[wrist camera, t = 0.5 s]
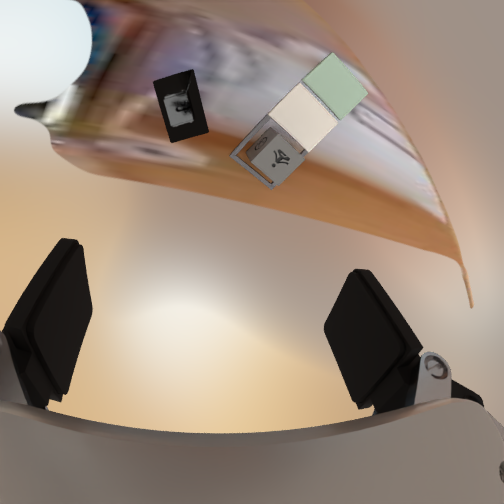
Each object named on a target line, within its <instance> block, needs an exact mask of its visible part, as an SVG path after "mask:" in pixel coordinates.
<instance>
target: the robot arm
mask: <svg viewBox="0 0 504 504" xmlns="http://www.w3.org/2000/svg"><path fill="white" fill-rule="evenodd" d="M91 316H92V302H91V296H90V291H89V285H88V279H87V273H86V265H85V258H84V249H83V246H82V245H80V244H79V242H78V241H77V240H75V239H67V238H61V239H60V240H59V242H58V243H57V244H56V246H55V247H54V248H53V250H52V251H51V252H50V254H49V255H48V257H47V258H46V259H45V261H44V262H43V264H42V265H41V266H40V268H39V269H38V271H37V272H36V274H35V275H34V277H33V278H32V280H31V281H30V283H29V284H28V286H27V288H26V289H25V291H24V292H23V294H22V295H21V297H20V299H19V300H18V302H17V304H16V305H15V307H14V309H13V311H12V312H11V314H10V316H9V318H8V320H7V321H6V323H5V326H4V329H3V330H2V332H1V331H0V504H504V427H503V426H502V425H501V424H500V423H499V422H498V421H497V420H496V419H495V418H494V417H493V416H492V415H491V414H490V413H489V412H487V411H486V410H485V408H484V405H483V400H482V398H481V397H480V396H479V395H478V394H476V393H475V392H473V391H471V390H469V389H467V388H466V387H464V386H462V385H460V384H459V383H457V382H455V381H453V380H452V379H451V369H450V367H449V365H448V363H447V362H446V360H444V359H443V358H442V357H441V356H439V355H438V354H436V353H433V352H426V353H424V354H423V355H422V356H421V357H420V356H419V352H420V351H421V350H422V349H423V346H422V345H421V343H420V342H419V340H418V338H417V337H416V335H415V334H414V333H413V331H412V329H411V328H410V326H409V325H408V323H407V322H406V320H405V319H404V317H403V316H402V314H401V313H400V311H399V310H398V308H397V307H396V306H395V304H394V303H393V301H392V300H391V299H390V297H389V296H388V294H387V293H386V292H385V290H384V289H383V287H382V286H381V284H380V283H379V282H378V280H377V279H376V278H375V276H374V275H373V274H372V272H371V271H370V270H365V269H354V270H353V272H351V273H349V275H348V277H347V279H346V281H345V283H344V285H343V287H342V289H341V292H340V294H339V296H338V298H337V300H336V302H335V304H334V306H333V308H332V310H331V312H330V314H329V316H328V318H327V320H326V322H325V324H324V333H325V335H326V337H327V340H328V342H329V345H330V347H331V349H332V352H333V354H334V357H335V359H336V361H337V364H338V366H339V369H340V371H341V374H342V376H343V379H344V381H345V384H346V386H347V389H348V391H349V394H350V396H351V399H352V401H353V402H355V403H356V404H357V407H358V409H364V408H369V407H371V406H372V405H373V406H374V408H375V409H374V412H373V415H372V416H369V417H364V418H360V419H355V420H350V421H345V422H340V423H334V424H329V425H322V426H315V427H308V428H301V429H293V430H282V431H271V432H256V433H229V434H228V433H227V434H226V433H224V434H220V433H219V434H218V433H217V434H215V433H184V432H183V433H182V432H169V431H157V430H148V429H139V428H132V427H125V426H118V425H113V424H107V423H101V422H96V421H91V420H85V419H81V418H77V417H72V416H68V415H63V414H60V413H56V412H52V411H49V410H48V408H47V405H48V403H49V399H51V400H55V401H58V402H61V401H62V396H63V394H65V395H66V394H67V393H68V390H69V386H70V383H71V379H72V375H73V372H74V368H75V365H76V361H77V358H78V355H79V352H80V348H81V345H82V342H83V339H84V336H85V333H86V330H87V327H88V324H89V322H90V319H91Z"/></svg>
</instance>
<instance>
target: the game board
mask: <svg viewBox="0 0 504 504" xmlns="http://www.w3.org/2000/svg"><path fill="white" fill-rule="evenodd" d="M302 81H303V82H304V83H305V84H306V85H307V86H308V87H309V88H310V89H311V90H312V91H313V92H314V93H315V94H316V95H317V96H318V97H319V98H320V99H321V100H322V101H323V102H324V103H325V104H326V106H327V107H328V108H329V109H330V110H331V111H332V112H333V113H334V114H335V115H336V116H337V118H338V119H339V120H342V119H343V118H344V117H345V116H346V115H347V114H348V113H349V112H350V111H351V110H352V109H353V108H354V107H355V106H356V105H357V104H358V103H359V102H360V101H361V100H362V99H363V98H364V97H365V96H366V95H367V94H368V92H367V91H366V90H365V89H364V87H363V86H362V85H361V84H360V82H359V81H358V80H357V79H356V78H355V76H354V75H353V74H352V73H351V72H350V71H349V70H348V68H347V67H346V66H345V65H344V64H343V63H342V62H341V61H340V59H339V58H338V57H337V56H336V55H335V54H334V53H333V52H332V53H330V54H329V55H328V56H327V57H326V58H325V59H324V60H323V61H321V62H320V63H319V64H318V65H317V66H316V67H315V68H314V69H313V70H312V71H311V72H310V73H308V74H307V75H306V76H305V77H304V78H303V79H302ZM270 118H272V119H273V120H275V121H276V122H277V123H278V124H279V125H280V126H281V127H282V128H283V129H284V130H285V131H287V132H288V133H289V134H290V135H291V136H292V137H293V138H294V139H295V140H296V141H297V142H298V143H299V144H300V145H301V146H302V147H303V148H304V150H303V151H302V152H301V153H300V155H301V156H302V157H304V156H305V155H306V154H307V153H308V152H310V151H311V150H312V149H313V148H314V147H315V146H316V145H317V144H318V143H319V142H320V141H321V140H322V139H323V138H324V137H325V136H326V135H327V134H328V133H329V132H330V131H331V130H332V129H333V128H334V127H335V126H336V125H337V124H338V122H337V121H336V120H335V119H334V118H333V116H332V115H331V114H330V113H329V112H328V111H327V110H326V109H325V108H324V107H323V106H322V105H321V104H320V103H319V101H318V100H317V99H316V98H315V97H314V96H313V95H312V94H311V93H310V92H309V91H308V90H307V89H306V88H305V87H304V86H303V85H302V84H301V83H298V84H297V85H296V86H295V87H294V88H293V89H292V90H291V91H290V92H289V93H288V94H287V95H286V96H285V97H284V98H283V99H282V100H281V101H280V102H279V103H278V104H277V105H276V106H275V107H274V108H273V109H272V110H271V111H270V112H269V113H268V114H267V115H266V116H265V117H264V118H263V119H262V120H261V121H260V122H259V123H258V124H257V126H256V127H255V128H254V129H253V130H252V131H251V132H250V133H249V134H248V135H247V136H246V137H245V138H244V140H243V141H242V142H241V143H240V144H239V145H238V146H237V147H236V148H235V149H234V151H233V152H232V153H231V154H230V155H229V156H230V157H231V158H232V159H234V160H235V161H236V162H238V163H239V164H240V165H241V166H243V167H244V168H245V169H246V170H248V171H249V172H250V173H251V174H253V175H254V176H255V177H256V178H258V179H259V180H260V181H261V182H262V183H264V184H265V185H266V186H267V187H269V188H270V189H271V190H272V189H273V188H274V187H275V186H276V185H277V184H276V183H275V182H272V183H269V182H268V181H267V180H266V179H265V178H263V177H262V176H261V175H260V174H258V173H257V172H256V171H255V170H254V169H252V168H251V167H250V166H249V165H247V164H246V163H245V162H244V161H242V160H241V159H240V158H239V157H237V156H236V154H237V153H238V152H239V151H240V150H241V149H242V148H243V147H244V146H245V145H246V143H247V142H248V141H249V140H250V139H251V138H252V137H253V136H254V135H255V134H256V133H257V132H258V131H259V129H260V128H261V127H262V126H263V125H264V124H265V123H266V122H267V121H268V120H269V119H270Z"/></svg>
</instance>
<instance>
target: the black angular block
mask: <svg viewBox="0 0 504 504" xmlns="http://www.w3.org/2000/svg"><path fill="white" fill-rule="evenodd" d="M153 84H154V88H155V91H156V95H157V98H158V102H159V105H160V108H161V112H162V115H163V119H164V122H165V125H166V129H167V132H168V135H169V138H170V142H171V143H174V142H177V141H180V140H184V139H187V138H191V137H194V136H198V135H201V134H205V133H208V132H209V130H208V126H207V122H206V118H205V114H204V110H203V106H202V102H201V98H200V94H199V90H198V86H197V82H196V78H195V73H194V70H193V69H192V70H188V71H184V72H181V73H178V74H174V75H171V76H168V77H165V78H162V79H159V80H156V81H154V82H153Z"/></svg>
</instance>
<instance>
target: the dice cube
mask: <svg viewBox="0 0 504 504" xmlns="http://www.w3.org/2000/svg"><path fill="white" fill-rule="evenodd" d="M246 154H247V156H248V158H249V160H250V161H251V163H253V164H254V165H255V166H256V167H257V168H258V169H260V170H261V171H262V172H263V173H264V174H265V175H267V176H268V177H269V178H270V179H271V180H272V181H273V182H275V183H276V184H277V185H278V186H279V185H280V184H281V183H282V182H283V181H284V180H285V179H286V178H287V177H288V176H289V175H290V174H291V173H292V172H293V171H294V170H295V169H296V168H297V167H298V166H299V165H300V164H301V163H302V162H303V161H304V160H305V159H304V158H303V157H302V156H301V155H300V154H299V153H298V152H297V151H296V150H295V149H294V148H293V147H292V146H291V145H290V144H289V143H288V142H287V141H286V140H285V139H284V138H283V137H282V136H281V135H280V134H279V133H277V132H276V131H275V130H273V129H272V128H271V127H270V128H269V129H268V130H267V131H266V132H265V133H264V134H263V135H262V136H261V137H260V138H259V139H258V140H257V141H256V142H255V143H254V144H253V145H252V146H251V147H250V148H249V149H248V150H247V151H246Z"/></svg>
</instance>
